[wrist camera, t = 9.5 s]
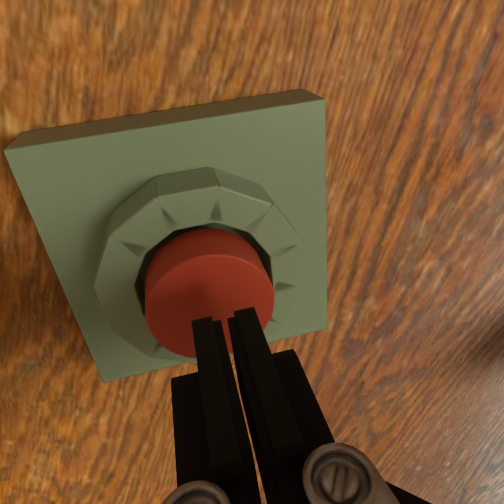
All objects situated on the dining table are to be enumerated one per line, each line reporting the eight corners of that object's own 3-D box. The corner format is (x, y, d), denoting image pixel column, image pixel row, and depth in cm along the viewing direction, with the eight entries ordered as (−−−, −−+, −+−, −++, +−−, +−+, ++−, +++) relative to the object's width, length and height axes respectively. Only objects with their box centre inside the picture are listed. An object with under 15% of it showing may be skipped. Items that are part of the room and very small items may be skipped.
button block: (107, 347, 19) (99, 419, 15) (21, 132, 14) (-20, 170, 10) (310, 300, 20) (344, 356, 17) (303, 88, 15) (350, 109, 12)
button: (159, 336, 15) (161, 372, 13) (131, 241, 13) (129, 271, 11) (266, 311, 15) (279, 343, 14) (256, 216, 13) (270, 241, 12)
